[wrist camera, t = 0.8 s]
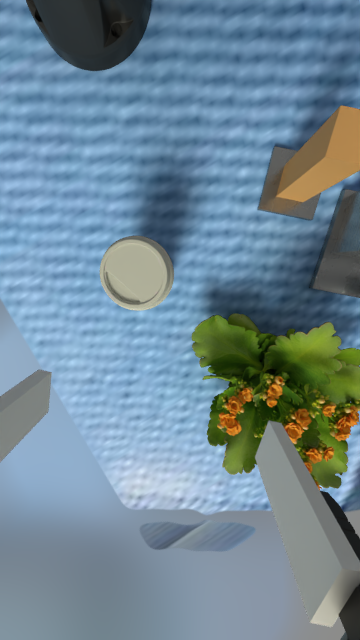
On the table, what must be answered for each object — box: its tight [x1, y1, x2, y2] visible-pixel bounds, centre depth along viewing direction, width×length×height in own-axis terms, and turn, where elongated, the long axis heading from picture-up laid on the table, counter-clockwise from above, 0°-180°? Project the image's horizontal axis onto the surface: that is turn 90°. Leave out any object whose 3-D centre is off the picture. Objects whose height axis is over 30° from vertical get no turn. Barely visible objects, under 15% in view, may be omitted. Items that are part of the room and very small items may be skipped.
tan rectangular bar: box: [276, 106, 360, 202], centre depth 26 cm, size 4×4×12 cm
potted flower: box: [192, 314, 360, 490], centre depth 30 cm, size 25×24×18 cm
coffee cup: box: [100, 236, 174, 310], centre depth 30 cm, size 9×8×12 cm
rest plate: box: [258, 146, 321, 220], centre depth 32 cm, size 8×8×1 cm
